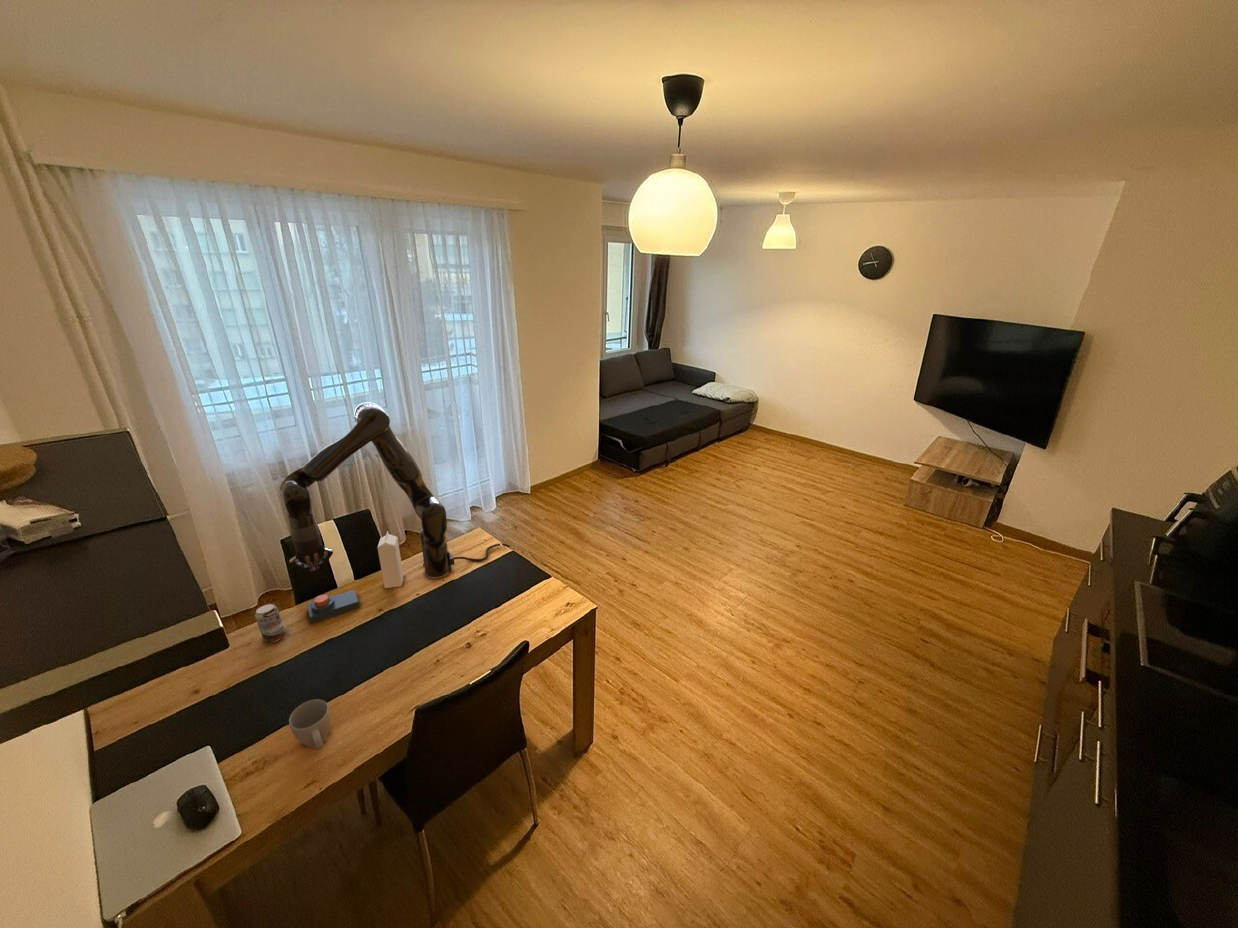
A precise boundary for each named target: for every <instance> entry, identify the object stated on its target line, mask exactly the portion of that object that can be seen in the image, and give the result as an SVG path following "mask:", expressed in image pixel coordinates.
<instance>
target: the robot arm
mask: <svg viewBox="0 0 1238 928" xmlns="http://www.w3.org/2000/svg"><path fill="white" fill-rule="evenodd" d="M353 419H354V422H355V425H354V426H353V428H352V429H351V430H350V431H349V432H348V433H346V434H345V435H344V436H343V437H341V438H340V439H338V440H336V441H335V442H332V443H330V444H328V445H327V446H325V447H324V448H322V449H321V450H320V451H318V452H317V453H316V454H315V455H314V456H313V457H312V458H311V459H309V461H307V463H305V464H304V465H303V466H301V467H299V468H297V469H296V470H294V471H293V472H290V474H288V475H287V476H286V477H285V478H284V479H283V480H282V482H280V486H279V490H280V494H281V497H282V500H283V502H284V506H285V509H286V511H287V512H286V513H287V519H288V523H289V527H290V528H289V529H290V534H291V538H292V542H293V545H294V549H295V550H294V551H295V553H294V556H293V557H291V558H289V559H288V561H289V565H290V566H291V567H293V568H296V569H298V570H300V571H302V572H304V573H305V572H309V573H310V578H311V579H313V580H317V579H320V577H322V572H321V568H322V567H325V566H326V565H327V563H328V561H329V560H330V559H331V557H332V556H333V554H334V550H333V549H332V547H328V548H327V547H325V545H324V544H323V541H322V537H321V533H320V528H319V525H318V523H317V520H316V516H315V512H314V508H313V503H312V497H311V492H310V489H309V487H311V486H312V485H313V484H314V483H316V482H318V483H319V482H320V483H321V482H323V481H324V480H325V479H327V478H328V477H329V476H330V475H331V474H332V473H334V472H335V471H336V470H337V469H338V468H339V467H340V466H341V465H342V464H343V463H344V462H345V461H346V460H348V459H349V458H350V457H352V456H353V455H354V454H355V453H357V452H358V451H360V450H361V449H362V448H364V447H365V446H366V445H368V444H369V443H372V444H373V446H374V448H375V449H376V451H377V453H378V456H379V458H380V460H381V461H382V463H383V465H384V467H385V468H386V471H388V473H389V474H390V476H391V478H392V479H393V481H394V482H395V483H396V484H397V486H399V488H400V489H401V490H402V491H403V492H404V493H405V494H406V496H407V498H408V499H409V502H410V503H411V505H412V508H413V509H414V510H413V511H414V512H415V514H416V515H417V517H418V518H419V519H420V521H421V530H420V542H421V549H422V550H421V551H422V558H423V564H422V567H423V568H424V575H425V577H427V578H428V579H429V580H439V579H443V578H445V577H447V576H449V574H451V573H452V566H454V565H455V560H465V561H470V562H471V561H472V562H482V561H485V560H487V559H488V557H489V550H490V549H492V548H496V547H501V545H500V544H502V545H503V546H502V547H507V548H511V545H509V544H506V543H496V544H492V545H490V546H488V547H487V548H485V549H486V550H485V556H484V557H482V558H473V557H472V558H470V557H466V556H453V555H452V553H451V552H450V551H449V550H448V540H447V539H448V538H447V532H448V531H447V530H448V518H447V511H446V508H445V506H444V505H443V503H442V502H440V500H439V499H438V498H437V497H436V496H435V495H434V494H433V493H432V492H431V490H430V489H429V488H428V486H427V485H426V483H425V482H424V478H423V475H422V472H421V469H420V467H419V466H418V464H417V462H416V460H415V459H414V456H413V455H412V453H410V451H409V450H408V449H407V447H406V446H405V444H403V443H402V441H400V439H399V438H398V437H397V435H396V434H395V433H394V431H393V429H392V428H391V426H390V424H391V419H390V416H389V414H388V413H387V412H386V411H385V410H384V408H382V407H381V406H380V405H378V404H377V403H375V402H369V401H367V402H361V403H360V404H358V405H357V406H356V408H355V410H354V413H353ZM305 563H306V564H305ZM313 564H314V565H313Z"/></svg>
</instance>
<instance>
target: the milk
mask: <svg viewBox="0 0 1238 928" xmlns="http://www.w3.org/2000/svg"><path fill="white" fill-rule="evenodd" d="M377 553H378V558H379V565H380V570H381V575H382V581H383V587H384V589H388V588H389V589H390V588H391V589H392V588H400V587H402V585H403V582H404V581H403V580H404V570H403V564H402V559H401V551H400V545H399V540H398V536H396V535H393V534H391V533H389V530H387V531H386V534H385V535H383V536H382V537H380V538H379V541H378V545H377Z"/></svg>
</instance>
